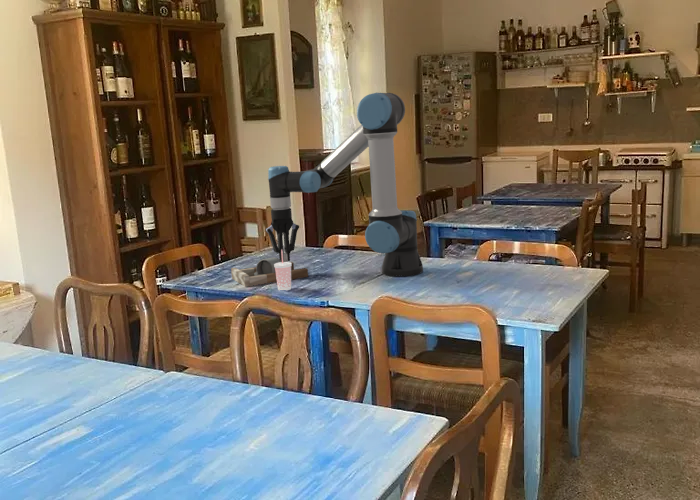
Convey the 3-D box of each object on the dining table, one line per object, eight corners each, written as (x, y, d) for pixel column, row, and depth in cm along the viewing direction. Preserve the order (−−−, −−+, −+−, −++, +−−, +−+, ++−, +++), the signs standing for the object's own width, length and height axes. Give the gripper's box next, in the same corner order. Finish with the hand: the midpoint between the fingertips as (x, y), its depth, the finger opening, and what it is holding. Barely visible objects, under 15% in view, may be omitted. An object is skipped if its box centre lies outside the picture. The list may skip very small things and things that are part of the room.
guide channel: (308, 276, 264) (307, 266, 264) (245, 286, 254) (244, 275, 253) (292, 269, 279) (291, 259, 278) (232, 278, 268) (231, 268, 268)
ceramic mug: (285, 275, 267) (283, 255, 266) (273, 280, 260) (271, 259, 259) (262, 274, 272) (260, 255, 271) (249, 279, 265) (247, 259, 264)
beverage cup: (290, 291, 244) (287, 251, 242) (273, 291, 246) (270, 251, 243) (295, 286, 250) (292, 247, 248) (278, 286, 251) (275, 247, 249)
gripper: (293, 205, 271) (297, 265, 275) (261, 208, 265) (265, 270, 270) (300, 207, 264) (305, 269, 269) (267, 211, 258) (272, 274, 263)
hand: (285, 269), depth 269 cm, fingers closed
